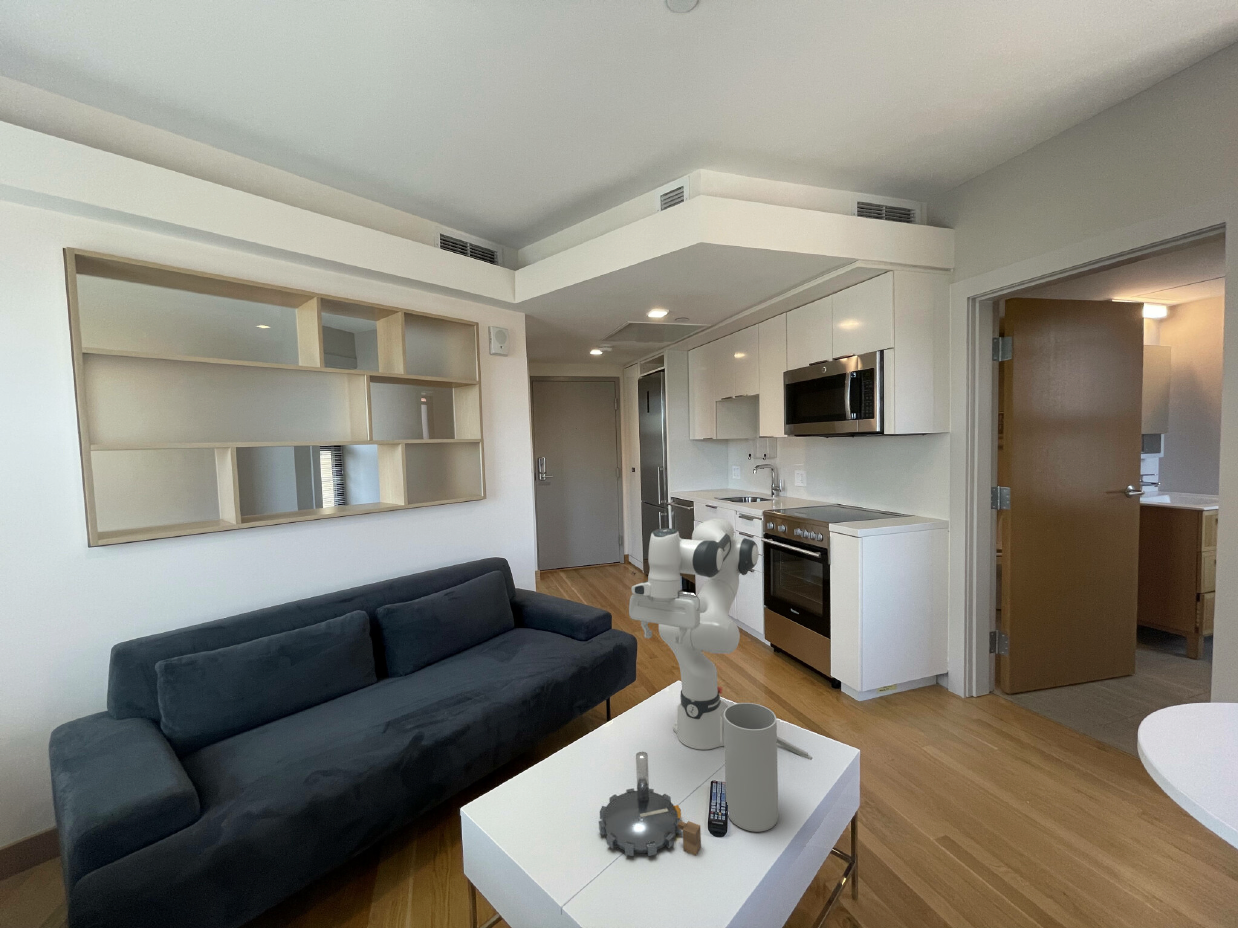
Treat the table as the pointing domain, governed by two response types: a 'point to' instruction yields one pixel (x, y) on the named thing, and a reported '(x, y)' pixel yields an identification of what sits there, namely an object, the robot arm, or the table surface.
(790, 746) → the caliper
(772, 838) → the table surface
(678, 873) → the table surface
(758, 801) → the cylinder vase
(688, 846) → the brown wooden block
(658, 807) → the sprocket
